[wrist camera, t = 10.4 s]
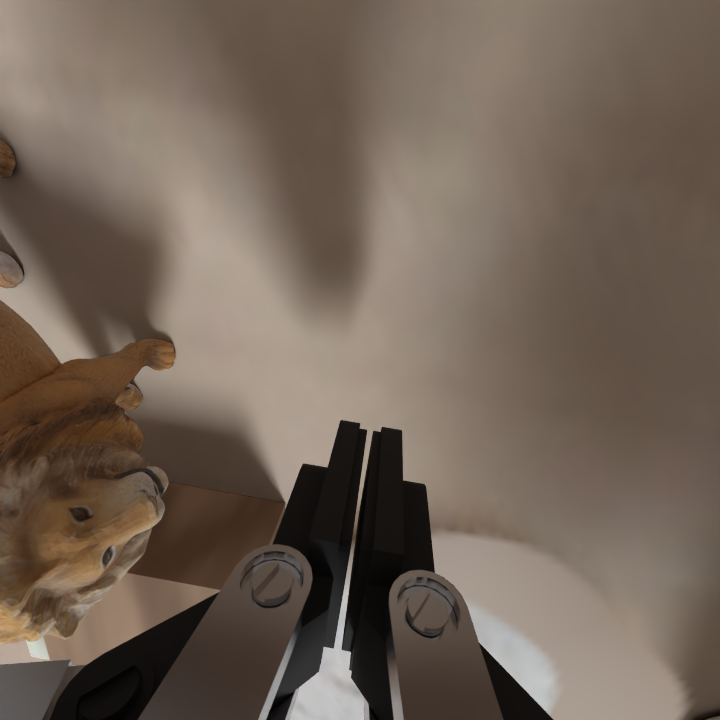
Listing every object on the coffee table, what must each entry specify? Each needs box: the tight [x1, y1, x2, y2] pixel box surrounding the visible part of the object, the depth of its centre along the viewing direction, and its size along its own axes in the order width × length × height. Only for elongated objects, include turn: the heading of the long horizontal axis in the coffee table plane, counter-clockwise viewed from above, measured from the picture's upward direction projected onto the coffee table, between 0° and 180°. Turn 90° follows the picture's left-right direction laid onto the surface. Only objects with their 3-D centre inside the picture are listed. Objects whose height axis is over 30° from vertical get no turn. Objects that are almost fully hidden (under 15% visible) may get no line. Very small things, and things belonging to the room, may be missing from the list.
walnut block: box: [26, 482, 285, 665], centre depth 16 cm, size 4×6×9 cm
